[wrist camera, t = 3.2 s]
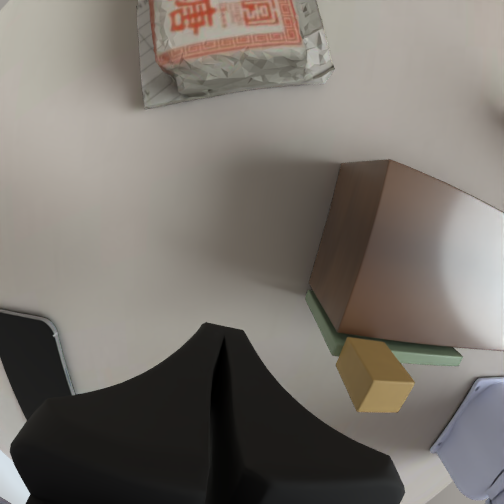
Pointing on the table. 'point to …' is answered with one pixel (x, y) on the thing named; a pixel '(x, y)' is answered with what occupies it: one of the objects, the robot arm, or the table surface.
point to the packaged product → (228, 47)
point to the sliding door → (377, 363)
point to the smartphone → (33, 360)
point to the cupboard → (411, 259)
